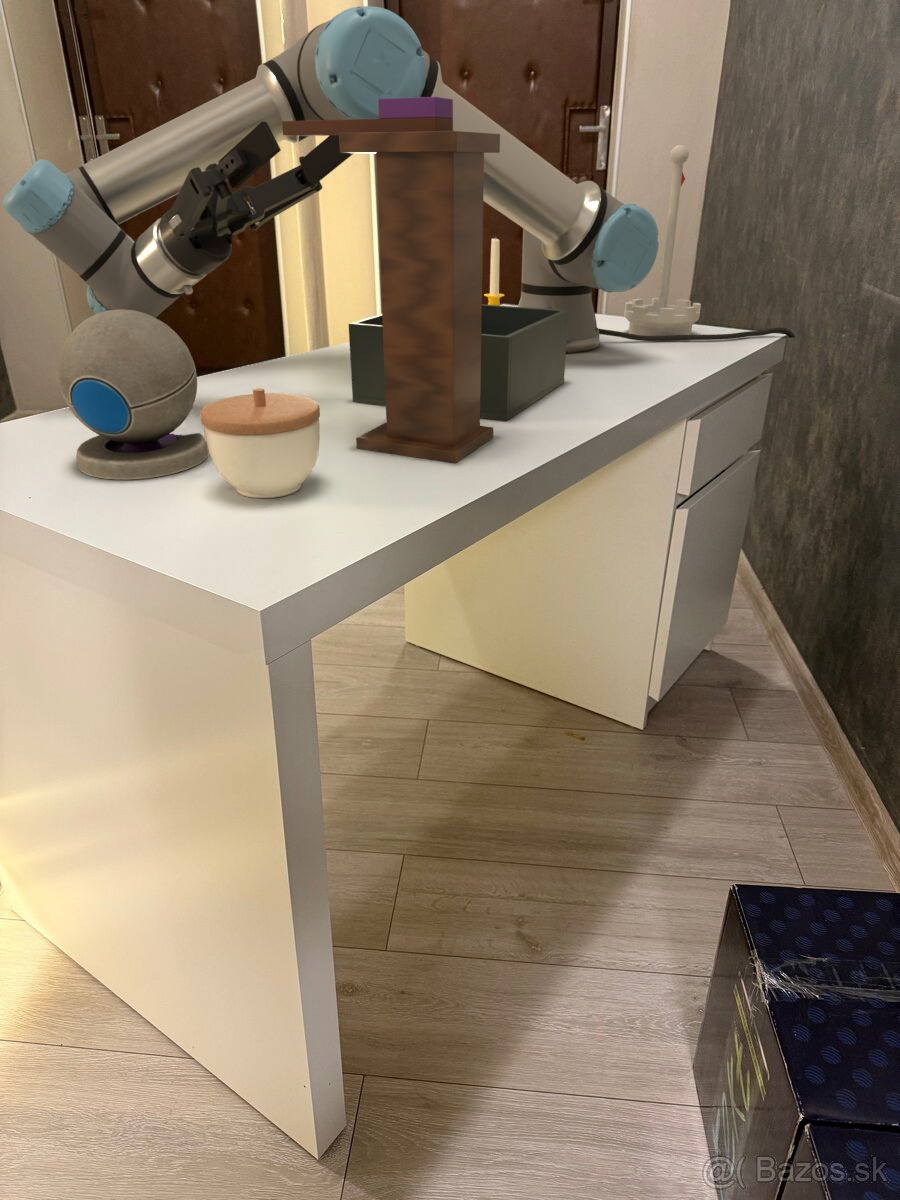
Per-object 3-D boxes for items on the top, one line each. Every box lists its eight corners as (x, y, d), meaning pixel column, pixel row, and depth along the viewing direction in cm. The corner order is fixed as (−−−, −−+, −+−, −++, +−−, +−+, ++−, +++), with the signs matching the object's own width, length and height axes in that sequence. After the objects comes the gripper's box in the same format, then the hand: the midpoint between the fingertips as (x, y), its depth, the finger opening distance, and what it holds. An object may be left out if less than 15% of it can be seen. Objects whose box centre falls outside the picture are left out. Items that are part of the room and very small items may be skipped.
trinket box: (322, 505, 75) (314, 403, 71) (202, 509, 74) (186, 406, 70) (328, 467, 85) (321, 374, 80) (221, 470, 84) (208, 377, 79)
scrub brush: (282, 135, 82) (279, 102, 81) (303, 136, 85) (301, 104, 84) (436, 132, 76) (435, 96, 74) (453, 133, 78) (453, 99, 77)
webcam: (227, 445, 91) (209, 302, 84) (170, 484, 80) (142, 323, 73) (121, 438, 94) (94, 298, 87) (51, 475, 83) (13, 319, 76)
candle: (512, 324, 159) (515, 236, 152) (493, 327, 156) (495, 237, 148) (493, 320, 162) (495, 234, 155) (474, 324, 159) (475, 235, 152)
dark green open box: (427, 368, 125) (426, 300, 120) (564, 383, 117) (568, 310, 112) (352, 401, 108) (348, 323, 103) (506, 421, 100) (509, 337, 95)
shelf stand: (356, 448, 90) (338, 132, 76) (400, 424, 98) (391, 135, 84) (455, 463, 86) (456, 130, 72) (493, 437, 94) (500, 133, 80)
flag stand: (685, 343, 141) (711, 143, 127) (612, 337, 147) (629, 144, 133) (704, 331, 152) (730, 145, 137) (635, 325, 157) (653, 145, 143)
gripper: (268, 265, 105) (391, 172, 93) (121, 290, 86) (254, 176, 74) (238, 209, 104) (359, 106, 92) (82, 220, 84) (210, 92, 72)
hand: (312, 137), depth 83 cm, fingers open, 13 cm apart
